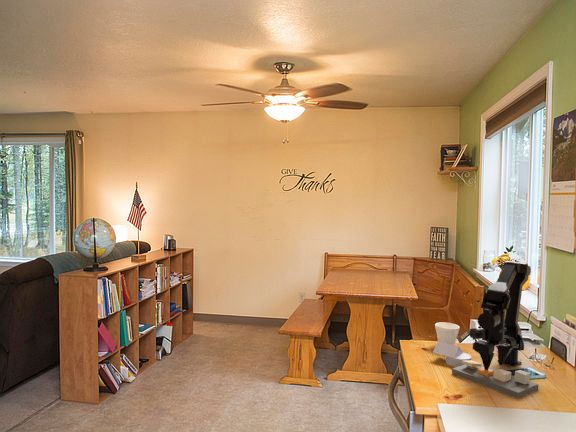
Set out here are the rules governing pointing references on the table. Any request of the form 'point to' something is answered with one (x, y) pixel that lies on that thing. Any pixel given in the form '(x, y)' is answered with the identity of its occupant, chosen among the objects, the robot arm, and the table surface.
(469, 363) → the cream rectangular plate
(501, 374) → the off-white button
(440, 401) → the table surface
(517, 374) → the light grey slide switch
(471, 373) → the control panel
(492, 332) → the robot arm
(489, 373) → the orange button
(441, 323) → the cup
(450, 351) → the wedge on round base
